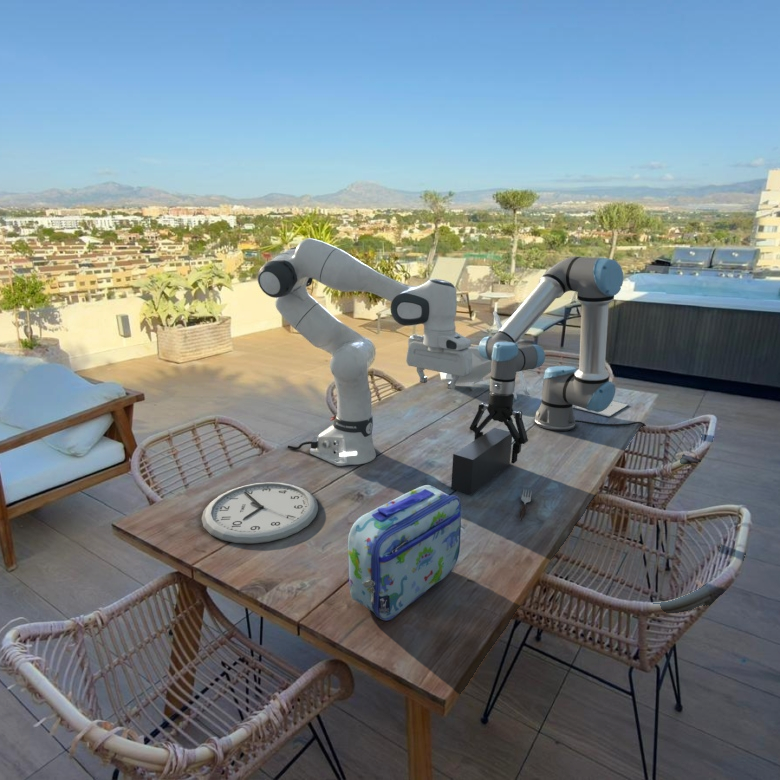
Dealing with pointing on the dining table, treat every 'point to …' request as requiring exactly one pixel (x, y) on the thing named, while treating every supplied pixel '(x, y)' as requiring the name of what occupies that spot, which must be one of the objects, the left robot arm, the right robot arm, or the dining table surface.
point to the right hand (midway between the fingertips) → (496, 456)
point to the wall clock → (259, 513)
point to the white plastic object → (482, 367)
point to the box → (481, 460)
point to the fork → (525, 500)
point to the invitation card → (608, 409)
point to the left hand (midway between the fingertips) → (437, 385)
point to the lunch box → (403, 549)
